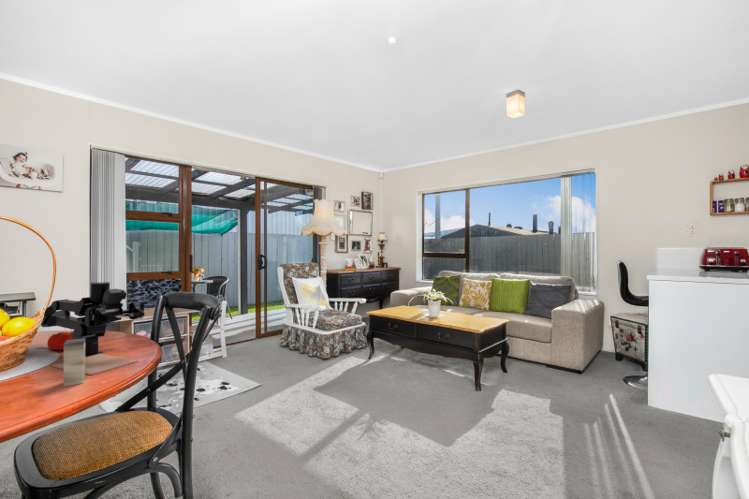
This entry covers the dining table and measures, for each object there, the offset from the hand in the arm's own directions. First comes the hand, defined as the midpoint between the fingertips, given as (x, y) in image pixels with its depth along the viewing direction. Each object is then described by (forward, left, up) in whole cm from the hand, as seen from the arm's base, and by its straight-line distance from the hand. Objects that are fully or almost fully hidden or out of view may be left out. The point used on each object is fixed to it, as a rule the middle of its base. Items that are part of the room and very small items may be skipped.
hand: (131, 316), depth 127 cm
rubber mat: (-10, -5, -17) cm, 20 cm away
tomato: (-41, +2, -17) cm, 45 cm away
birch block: (+2, -18, -17) cm, 25 cm away
